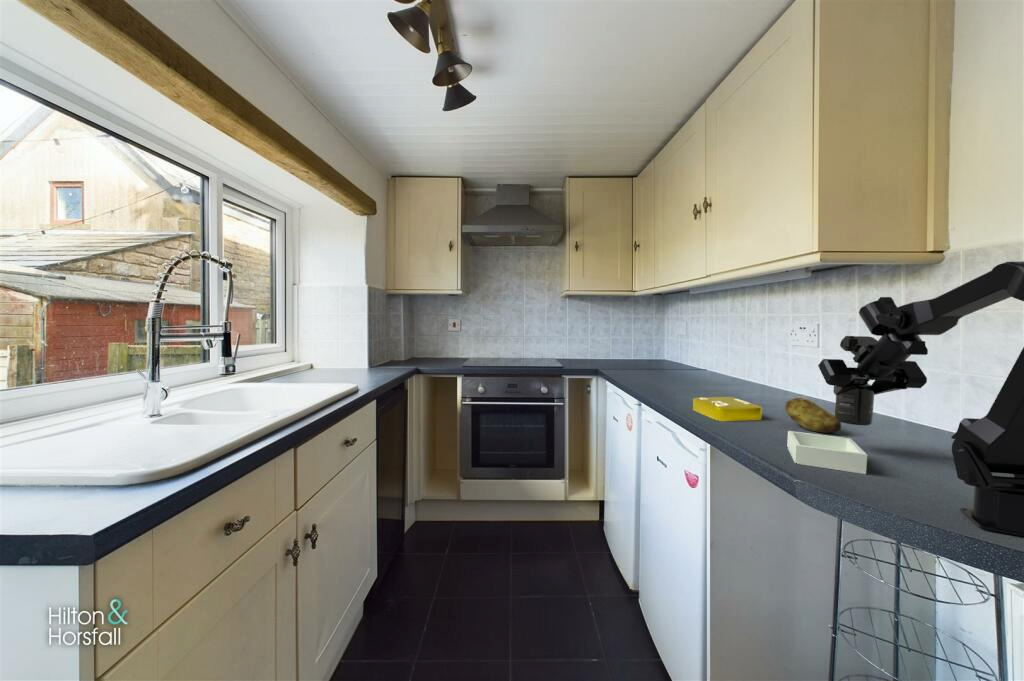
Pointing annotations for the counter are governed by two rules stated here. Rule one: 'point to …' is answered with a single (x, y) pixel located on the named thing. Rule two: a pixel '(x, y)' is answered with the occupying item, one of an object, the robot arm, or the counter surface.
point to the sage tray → (826, 452)
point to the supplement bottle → (856, 403)
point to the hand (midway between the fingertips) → (851, 393)
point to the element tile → (727, 409)
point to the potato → (811, 416)
